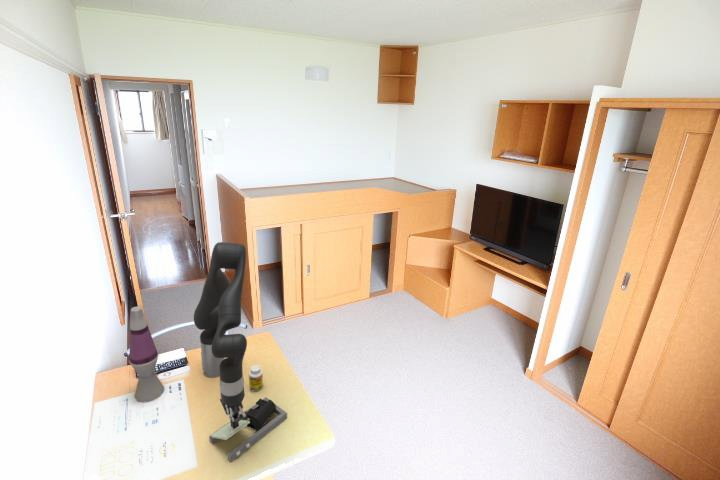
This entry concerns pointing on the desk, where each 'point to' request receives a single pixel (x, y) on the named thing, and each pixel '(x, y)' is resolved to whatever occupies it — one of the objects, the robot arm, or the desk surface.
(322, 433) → the desk surface
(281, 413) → the grey frame
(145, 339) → the lamp
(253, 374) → the supplement bottle
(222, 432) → the lid
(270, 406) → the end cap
